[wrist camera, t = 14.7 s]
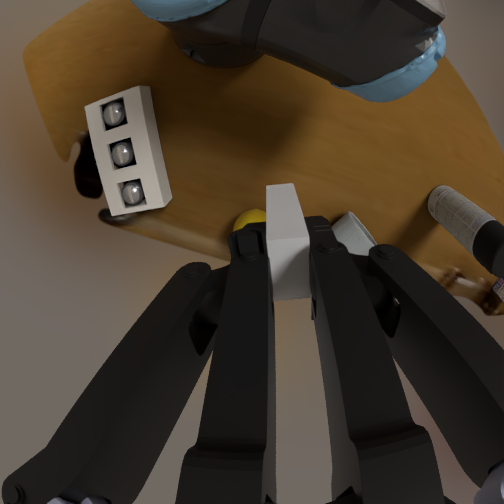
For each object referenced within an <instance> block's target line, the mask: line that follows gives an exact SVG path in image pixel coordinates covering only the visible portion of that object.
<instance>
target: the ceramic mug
mask: <svg viewBox="0 0 504 504" xmlns="http://www.w3.org/2000/svg"><path fill="white" fill-rule="evenodd" d="M331 228H332V230H333V232H334V234H335V236H336V239H337V241H339V242H341V243H343V244H344V245H345V246H346V247H347V249H348V251H349V253H352V254H357V255H367V256H368V253H369V249H370V248H371V247H373V246H375V245H377V244H376V242H375V240H374V239H373V237H372V236H371V235H370V233H369V232H368V231H367V229H366V228H365V227H364V225H363V224H362V223H361V222H360V221H359V219H358V218H357V217H356V216H355V215H354V214H353V213H352V212H350V211H349V212H347V213H346V214H345V215H344V216H343V217H342V218H341V219H339V220H338V221H337V222H336V223H335V224H334V225H333V226H332V227H331Z"/></svg>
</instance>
